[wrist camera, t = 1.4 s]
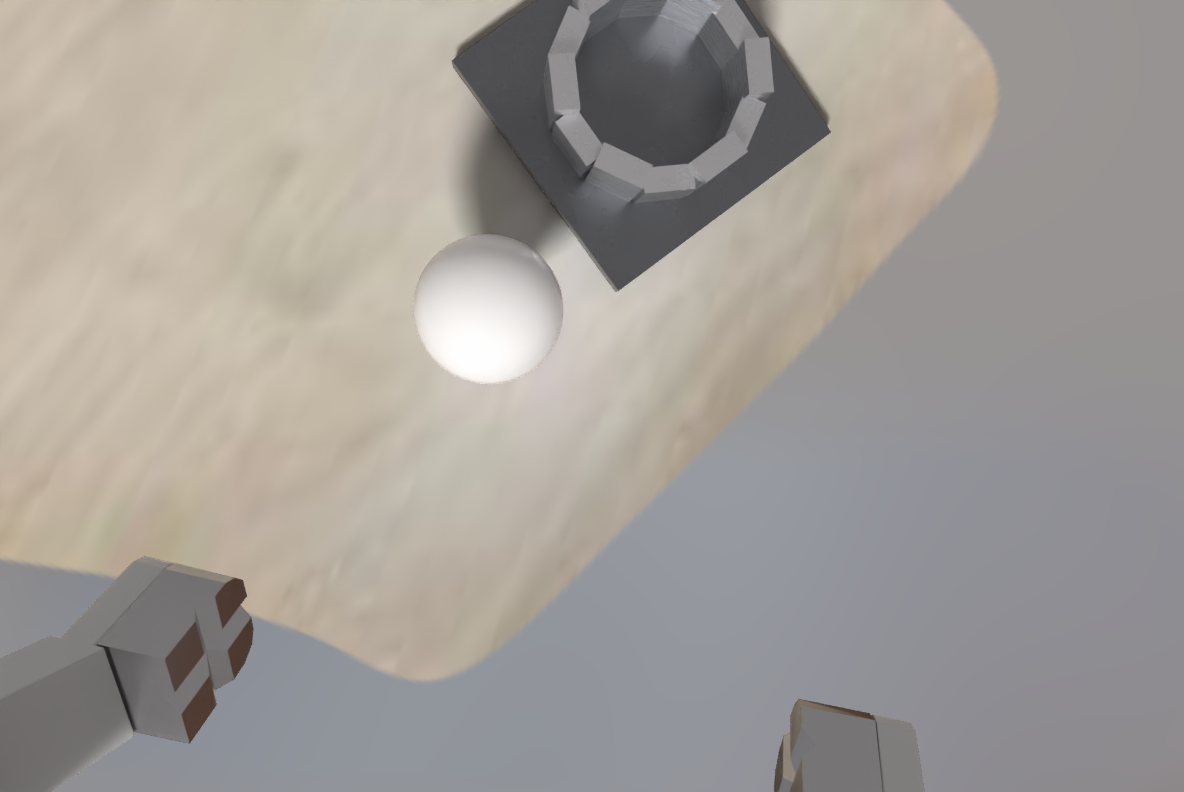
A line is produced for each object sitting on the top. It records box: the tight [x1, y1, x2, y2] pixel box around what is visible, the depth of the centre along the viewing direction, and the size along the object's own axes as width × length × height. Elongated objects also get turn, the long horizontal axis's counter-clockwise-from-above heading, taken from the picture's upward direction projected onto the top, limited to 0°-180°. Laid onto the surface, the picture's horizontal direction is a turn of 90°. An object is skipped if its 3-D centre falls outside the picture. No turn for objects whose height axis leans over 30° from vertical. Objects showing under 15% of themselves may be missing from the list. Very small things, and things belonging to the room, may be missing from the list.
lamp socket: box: [452, 0, 831, 292], centre depth 41 cm, size 14×14×5 cm
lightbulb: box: [413, 234, 563, 384], centre depth 38 cm, size 6×6×11 cm
